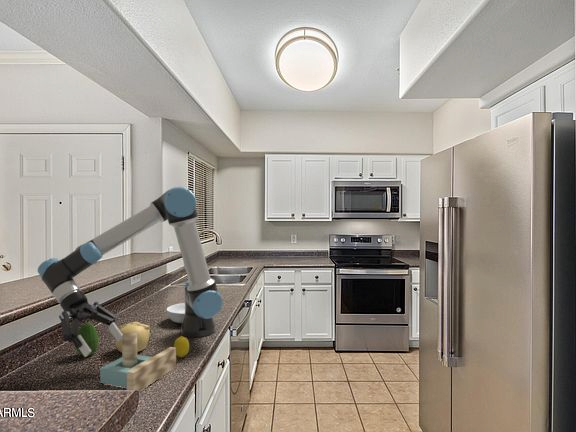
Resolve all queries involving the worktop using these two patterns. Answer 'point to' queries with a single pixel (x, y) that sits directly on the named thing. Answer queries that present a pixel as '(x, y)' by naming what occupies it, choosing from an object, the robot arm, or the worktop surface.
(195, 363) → the worktop surface
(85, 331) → the avocado
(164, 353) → the oak wall
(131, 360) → the dowel
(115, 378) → the socket block
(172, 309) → the serving bowl
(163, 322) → the worktop surface
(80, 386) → the worktop surface
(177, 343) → the lemon
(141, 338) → the sculpture
